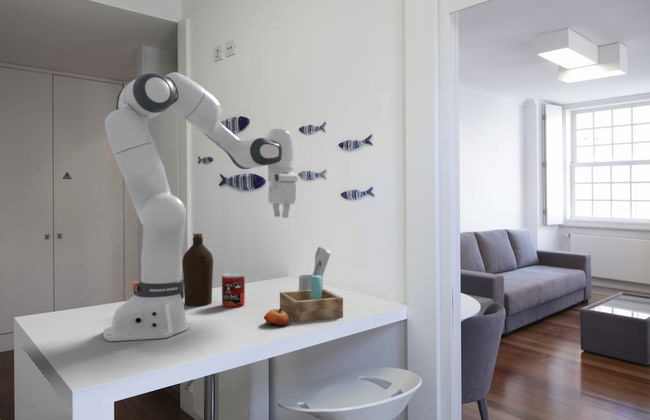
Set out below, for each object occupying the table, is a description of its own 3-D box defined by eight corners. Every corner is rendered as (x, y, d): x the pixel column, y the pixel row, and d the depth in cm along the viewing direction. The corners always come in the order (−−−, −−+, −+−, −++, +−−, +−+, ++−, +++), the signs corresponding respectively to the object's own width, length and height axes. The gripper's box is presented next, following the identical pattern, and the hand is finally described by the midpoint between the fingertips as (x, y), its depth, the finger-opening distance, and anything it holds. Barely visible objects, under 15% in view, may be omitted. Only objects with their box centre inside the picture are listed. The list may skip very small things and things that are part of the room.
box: (295, 321, 143) (295, 302, 142) (279, 310, 157) (279, 292, 157) (343, 316, 149) (343, 297, 149) (323, 305, 163) (323, 288, 163)
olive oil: (219, 301, 170) (219, 233, 169) (200, 308, 160) (200, 235, 160) (196, 299, 174) (195, 232, 174) (176, 305, 165) (175, 234, 164)
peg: (313, 314, 151) (313, 277, 151) (309, 312, 155) (309, 276, 154) (323, 313, 153) (323, 277, 152) (319, 311, 156) (319, 275, 156)
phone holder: (297, 290, 190) (297, 246, 190) (321, 289, 192) (321, 246, 192) (305, 299, 173) (305, 251, 173) (331, 298, 176) (331, 250, 175)
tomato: (281, 324, 134) (270, 303, 137) (266, 338, 136) (254, 317, 139) (297, 322, 141) (286, 302, 144) (282, 335, 143) (271, 315, 146)
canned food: (218, 307, 161) (218, 275, 161) (228, 302, 169) (228, 272, 169) (238, 308, 159) (238, 276, 159) (248, 303, 167) (247, 272, 167)
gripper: (263, 178, 170) (264, 216, 170) (280, 175, 151) (281, 218, 151) (280, 178, 172) (280, 215, 173) (299, 176, 153) (299, 218, 154)
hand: (281, 217), depth 162 cm, fingers open, 8 cm apart
